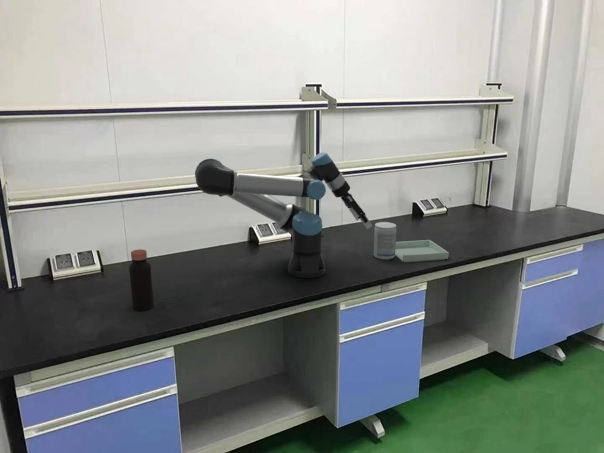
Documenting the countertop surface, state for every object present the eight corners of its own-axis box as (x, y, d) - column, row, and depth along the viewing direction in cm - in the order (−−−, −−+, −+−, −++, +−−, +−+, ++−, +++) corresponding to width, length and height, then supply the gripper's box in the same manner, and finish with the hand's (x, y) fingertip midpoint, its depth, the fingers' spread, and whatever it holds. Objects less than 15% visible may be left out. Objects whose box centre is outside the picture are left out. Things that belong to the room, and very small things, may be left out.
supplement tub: (399, 257, 217) (401, 225, 213) (383, 261, 212) (385, 229, 208) (384, 251, 225) (386, 220, 221) (368, 255, 220) (370, 223, 216)
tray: (403, 262, 211) (404, 255, 210) (387, 248, 228) (388, 242, 227) (448, 259, 216) (448, 252, 215) (429, 246, 233) (429, 239, 232)
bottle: (151, 311, 164) (146, 255, 159) (130, 311, 164) (125, 255, 158) (155, 302, 171) (151, 248, 165) (135, 302, 170) (130, 248, 164)
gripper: (354, 185, 195) (381, 225, 203) (336, 174, 218) (361, 210, 226) (339, 197, 195) (367, 236, 203) (323, 184, 218) (348, 220, 226)
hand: (364, 222), depth 214 cm, fingers open, 13 cm apart
